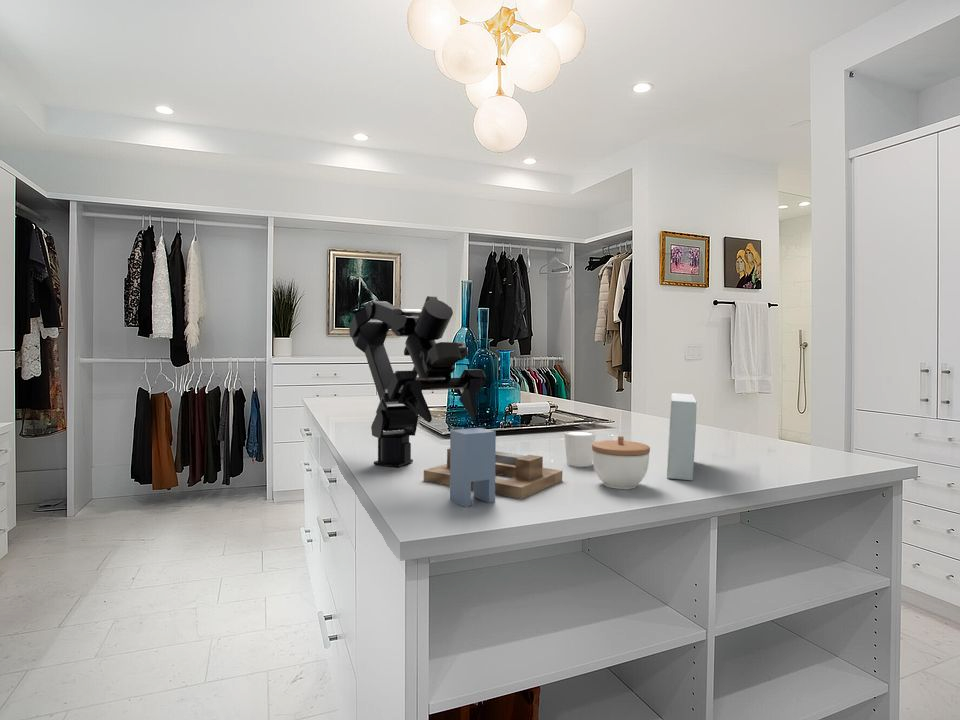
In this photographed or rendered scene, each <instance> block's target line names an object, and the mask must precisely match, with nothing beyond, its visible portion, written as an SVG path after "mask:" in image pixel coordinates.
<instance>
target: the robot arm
mask: <svg viewBox="0 0 960 720" xmlns="http://www.w3.org/2000/svg"><path fill="white" fill-rule="evenodd" d="M453 315H454V312H453V308H452V306H449V305H448V304H447V303H445V302H443V301H441V300H439V298H438V297H437V296H432V295H431V296H429V295H428V296H426V298H425V302H424V304H423V305H422V308H421V309H418V308H417V309H415V308H402V307H400V306H397V305H394V304H391V302H388V301H387V300H386V301H383V300H382V301H381V300H370V301H368V302H367V304H366V306H365V307H364V308H363V309H361V310H359V311H358V312H357V313H356V314H354V316H353V318H352V320H351V322H350V324H349V328H348V329H349V331H348V332H349V336H350V338H351V339H352V341H353V344H354V345H355V348H357V349H358V350H360V351H361V352H363V353H364V355H365V357H366V360H367V364H368V367H369V370H370V374H371V376H372V380H373V383H374V386H375V389H376V392H377V395H378V398H379V402H378V405H377V409H376V411H375V416H374V419H373V421H372V424H371V426H370V428H371V436H372V437H375V438H377V460H374V461H373V464H374V465H379V466H387V467H395V468H398V467H402V466H405V465H408V464H410V463H413V462H414V459H412V448H411V447H412V443H411V442H410V436H414V437H415V436H416V433H417V427H418V423H419V422H418V421H419V416H420V417H421V418H422V419H423V420H424V421H426V422H427V423H431V422H432V420H433V417H432V413H431V410H430V408H429V406H428V404H427V402H426V398H425V397H424V394H423V391H441V390H442V391H447V390H455V392H456V394H457V396H459V397H458V398H459V399H458V400H459V402H460V403H461V405H462V406H463V408H464V409H465V411H466V413H467V414H468V415H469V417H470V418H472V420H475V419H476V418H477V416H478V415H477V414H478V413H477V396H478V395H479V393H480V391H481V390H482V388H483V387H484V384H485V382H486V381H487V376H486V374H485V371H484V370H483V369H480V368H479V369H477V368H475V369H472V368H471V369H470V368H469V369H463V370H462V373H461V375H460V376H459V377H451V376H452V375H451V374H452V373H454V372H455V370H456V367H455V364H457V363H458V362H460V361H463V360H464V359H465V358H466V359H467V357H468V354H469V351H468V348H467V346H466V344H465V342H464V341H455V342H453V341H452V342H451V341H441V342H436V341H437V340H440V339H442V338H443V336H444V333H445V331H446V329H447V327H448V325H449V323H450V321H451V319H452V317H453ZM390 330H391V332H392V333H394V334H395V336H396V337H404V338H405V337H407V338H406V340H405V342H404V343H405V347H404V350H403V355H404V356H407V357H408V356H410V359H411V361H412V363H413V368H412V370H395V371H394V369H393V367H392V365H391V361H390V359H389V355H388V352H387V350H386V347H385V341H386V339H387V336H388V333H389V331H390Z"/></svg>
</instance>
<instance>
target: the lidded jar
mask: <svg viewBox="0 0 960 720" xmlns="http://www.w3.org/2000/svg"><path fill="white" fill-rule="evenodd" d="M592 450H593V460H592V466H593V470H594V472H595V474H596V476H597V477H598V479H599V480H600V481H601V482H602V483H603V486H605V487H607V488H611V489H616V490H632V489H635V488H637V485H639V484H640V483H642V481H643V479H644V478H645V477H646V475H647V472H648V468H649V462H650V451H651V447H650V446H649V445H648V444H646V443H642V442H639V441H638V442H636V441H631V440H630V441H629V440H624V436H621V435H619V436H617V439H616V440H615V439H613V440H610V439H609V440H598V441H595V442H594V443H593V444H592Z"/></svg>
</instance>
